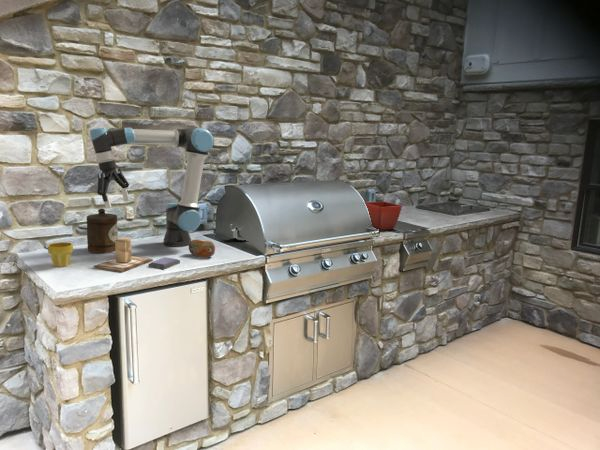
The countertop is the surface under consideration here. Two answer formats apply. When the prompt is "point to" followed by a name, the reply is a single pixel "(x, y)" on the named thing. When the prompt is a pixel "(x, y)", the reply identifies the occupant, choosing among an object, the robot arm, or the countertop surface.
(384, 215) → the plant pot
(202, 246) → the brown oval lump
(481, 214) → the countertop surface
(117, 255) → the wooden block
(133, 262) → the print board
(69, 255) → the plant pot
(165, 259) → the pad
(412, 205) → the countertop surface
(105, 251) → the wooden container
